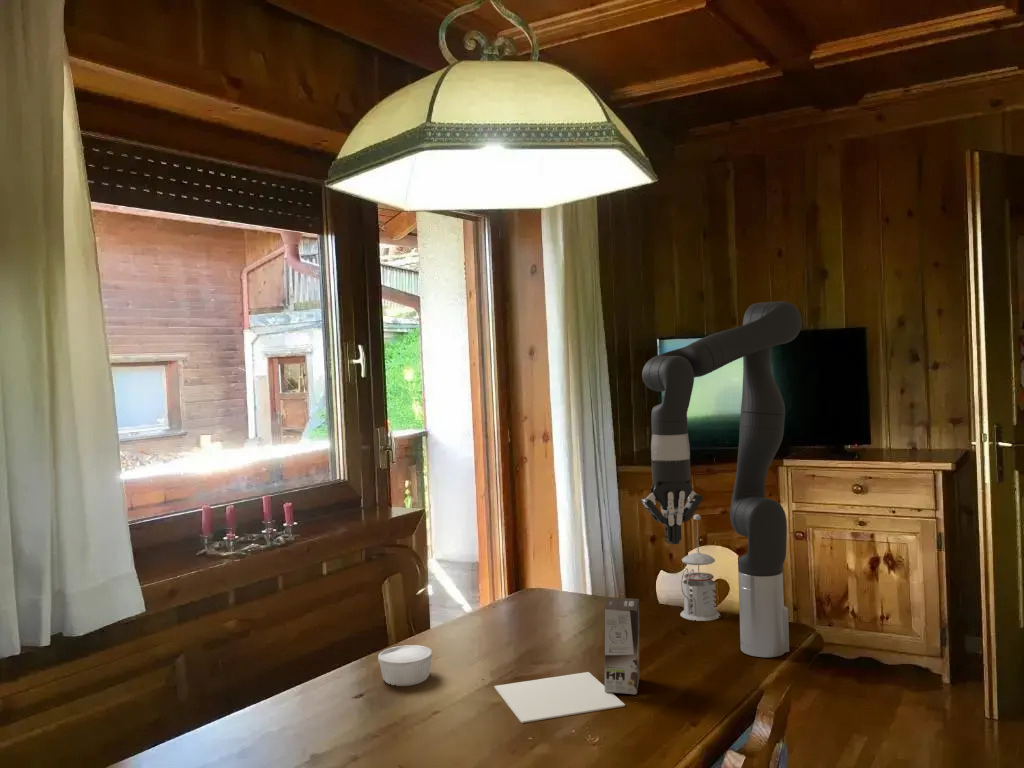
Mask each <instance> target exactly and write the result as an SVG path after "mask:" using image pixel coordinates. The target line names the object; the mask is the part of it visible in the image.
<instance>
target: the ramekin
mask: <svg viewBox="0 0 1024 768" xmlns="http://www.w3.org/2000/svg"><path fill="white" fill-rule="evenodd" d="M377 657H378V658H377V659H378V663H379V666H380V671H381V672H380V673H381V676H382V679H383V681H384V682H385V683H387V684H388V685H390V684H391V685H390V686H394V685H396V686H395V687H406V686H408V687H409V686H414V685H419V684H421V683H424V682H425V681H426V680H427V679H428V678H429V676H430V674H431V666H432V658H433V650H432V649H431V648H429V647H428V646H423V645H418V644H417V645H415V644H408V645H407V644H406V645H398V646H393V647H389V648H386V649H384V650H382V651H381V652H380V653H379V654H378V656H377Z"/></svg>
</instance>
